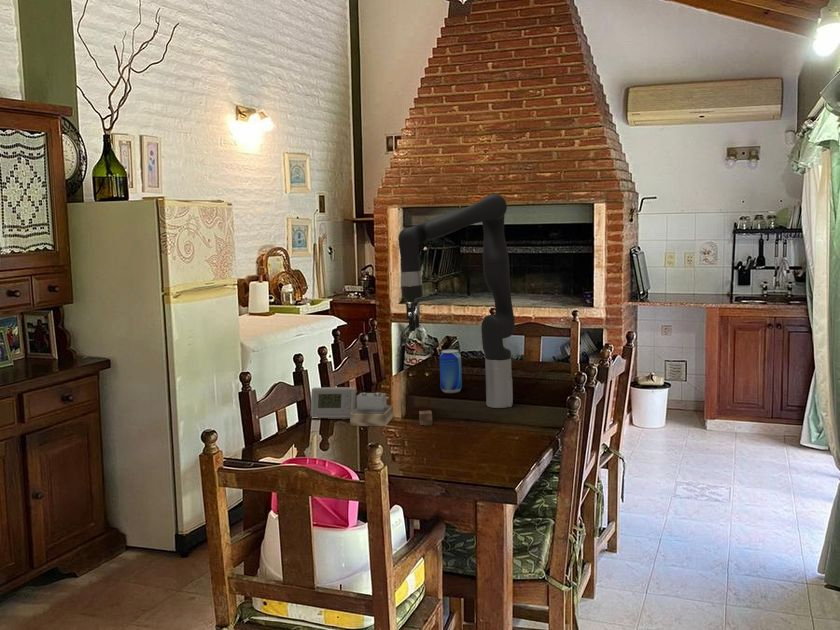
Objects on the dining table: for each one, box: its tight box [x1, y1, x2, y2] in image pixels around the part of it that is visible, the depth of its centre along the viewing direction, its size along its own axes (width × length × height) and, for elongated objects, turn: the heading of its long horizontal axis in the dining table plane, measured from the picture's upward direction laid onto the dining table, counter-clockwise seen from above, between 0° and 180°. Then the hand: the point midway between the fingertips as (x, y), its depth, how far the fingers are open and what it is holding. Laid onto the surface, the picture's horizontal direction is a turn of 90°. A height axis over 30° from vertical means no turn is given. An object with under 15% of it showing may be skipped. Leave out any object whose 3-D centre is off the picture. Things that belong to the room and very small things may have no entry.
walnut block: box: [418, 410, 433, 426], centre depth 259 cm, size 4×4×4 cm
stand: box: [349, 404, 394, 427], centre depth 265 cm, size 12×12×4 cm
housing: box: [356, 391, 387, 411], centre depth 264 cm, size 5×9×6 cm, turn 76°
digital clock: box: [310, 386, 357, 421], centre depth 271 cm, size 16×9×11 cm, turn 70°
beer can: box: [439, 349, 463, 394], centre depth 305 cm, size 8×8×16 cm
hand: (414, 329), depth 277 cm, fingers open, 8 cm apart
